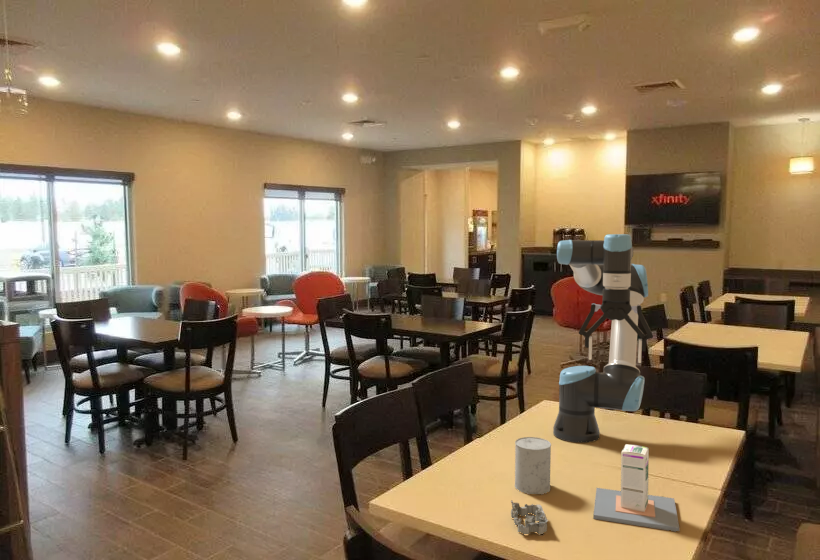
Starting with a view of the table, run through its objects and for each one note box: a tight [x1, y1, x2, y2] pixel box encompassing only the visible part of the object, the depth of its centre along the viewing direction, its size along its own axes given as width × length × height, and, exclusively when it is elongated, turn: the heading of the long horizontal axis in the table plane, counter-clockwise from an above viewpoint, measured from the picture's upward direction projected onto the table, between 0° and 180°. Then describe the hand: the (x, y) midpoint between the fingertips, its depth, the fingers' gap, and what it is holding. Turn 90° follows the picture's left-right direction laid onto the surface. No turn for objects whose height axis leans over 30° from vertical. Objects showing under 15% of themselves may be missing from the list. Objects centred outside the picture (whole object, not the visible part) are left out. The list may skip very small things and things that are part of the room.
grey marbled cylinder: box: [514, 436, 552, 495], centre depth 161 cm, size 10×10×12 cm
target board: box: [592, 487, 680, 532], centre depth 148 cm, size 19×16×1 cm
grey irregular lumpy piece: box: [510, 500, 549, 535], centre depth 141 cm, size 11×8×4 cm
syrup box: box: [620, 443, 649, 512], centre depth 147 cm, size 6×6×14 cm
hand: (614, 360), depth 172 cm, fingers open, 13 cm apart
